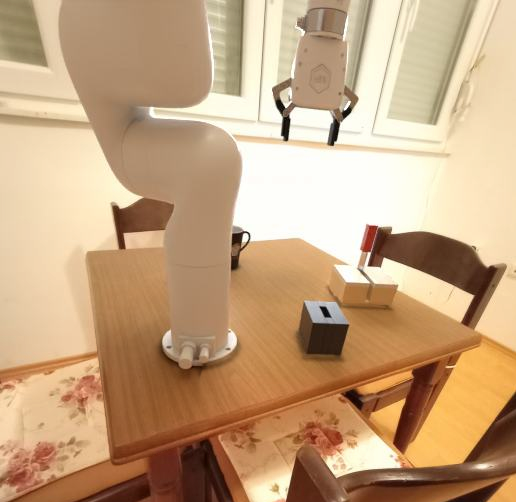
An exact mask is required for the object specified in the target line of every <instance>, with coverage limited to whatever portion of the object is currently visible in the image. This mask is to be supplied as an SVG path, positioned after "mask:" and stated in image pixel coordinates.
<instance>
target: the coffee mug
mask: <svg viewBox="0 0 516 502" xmlns="http://www.w3.org/2000/svg"><path fill="white" fill-rule="evenodd" d="M244 234H247V236H248V237H247V238H248V239H247V241H246V243H245V244H244V245H243V246H242V243H243V238H244ZM251 239H252V238H251V233H250V232H249V231H247V230H245V229H244V228H243V227H241V226H238V225H234V224H233V228H232V244H231V271H232V270H236V269H238V268H239V262H240V257H241V252H242V251H243V250H244V249H245V248H246V247H247V246H248V245H249V243H250V241H251Z"/></svg>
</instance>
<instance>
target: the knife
mask: <svg viewBox="0 0 516 502" xmlns="http://www.w3.org/2000/svg"><path fill="white" fill-rule="evenodd" d="M378 229H379V224H377V223H372V222H371V223H370V222H367V223H366V225H365V229H364V232H363V236H362V239H361V244H360V248H359V250H360V251H361V253H360V256H359V261H358V264H357V267H356V268H357V269H358V270H359V271H360V273H361V274H362V273H363V269H364V266H365V265H366V262H367V258H368V254H369V253H372V249H373V246H374V243H375V239H376V236H377V232H378ZM365 267H366V266H365Z"/></svg>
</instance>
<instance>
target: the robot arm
mask: <svg viewBox="0 0 516 502" xmlns="http://www.w3.org/2000/svg"><path fill="white" fill-rule="evenodd" d="M351 2H352V0H306V5H305V14H303V16H301V17H299V16H298V17H296V21H295V28H296V29H299V30H300V31H301V35H300V36H299V38H298V41H297V45H296V49H295V54H294V58H293V63H292V67H291V68H292V69H291V76H290V77H289V78H287V79H286V80H283V81H282V82H280V83H278V84H276V85H274V86H272V88H271V89H270V92H271V96H272V99H273V102H274V107H275V108H276V109H277V111H278V113H279V114H280V117H281V127H280V128H281V129H280V137H282V142H288V141H289V139H290V138H289V137H290V129H291V120H292V118H291V117H290V116H291V113H292V112H293V111H294V109H295V108H299V109H305V110H306V109H307V110H315V111H317V110H318V111H327V112H329V114H330V116H331V118H332V122H331V123H330V126H329V130H328V138H327V143H326V145H327V146H329V147H334V146H335V143H337V141H338V138H339V133H340V128H341V123H343V122H344V120H346V119H347V117H348V116H350V115H351V113H352V112H353V110H354V108H355V106H356V105H357V104H358V102H359V96H358V95H356V93H355V92H354V91H353V90H351V88H349V87H348V86H347V85H346V80H347V79H346V78H347V71H348V70H347V69H348V58H349V41H348V40H345V37H346V31H347V26H348V21H349V20H348V19H349V14H350V7H351ZM60 4H61V5H60V6H59V7H60V8H59V12H58V21H57V22H58V24H57V26H58V37H59V38H58V39H59V44H60V49H61V54H62V58H63V61H64V65H65V67H66V68H65V69H66V70H67V73H68V75H69V78H70V80H71V83H72V85H73V88H74V90H75V92H76V94H77V97H78V99H79V101H80V104H81V106H82V109H83V111H84V113H85V115H86V118H87V120H88V122H89V124H90V127H91V129H92V131H93V133H94V135H95V138H96V140H97V142H98V145H99V146H100V149H101V151H102V153H103V155H104V158H105V160H106V163H107V164H108V166H109V168H110V170H111V172H112V173H113V175H114V176H115V178H116V179H117V181H118V182H119V183H120V184H121V186H122V187H123V188H125V190H127V191H129V192H130V193H131V194H133V195H135V196H138V197H142V198H144V199H149V200H154V201H159V202H164V203H168V204H171V205H173V211H172V212H171V215H170V217H169V220H168V221H167V224H166V226H165V229H164V231H163V237H162V238H163V239H162V248H163V258H164V271H165V280H166V293H167V304H168V305H167V306H168V315H169V326H170V327H169V330H167V331H166V332H165V334H164V335H163V337H162V340H161V346H162V351H163V352H164V355H166V357H168V358H169V359H171V360H172V361H174V362H176V363H177V364H178V366H179V367H180V368H181V369H182V370H188V369H189V370H190V369H191V368H192V366H193V367H203V366H204V364H206V363H210V362H215V361H219V360H221V359H223V358H226V357H227V356H229V355H231V354H232V353H233V352H234V350H235V349H236V348H237V345H238V337H237V335H236V334H235V332H234V331H233V330H232V329H231V328H230V327H229V326H230V301H231V300H230V299H231V275H232V274H231V272H232V270H231V244H232V228H233V225H234V217H235V213H236V212H235V211H236V207H237V201H238V196H239V191H240V188H241V182H242V176H243V156H242V151H241V149H240V146H239V144H238V142H237V140H236V139H235V138H234V136H233V135H232V134H231V133H230V132H229V130H227V129H225V128H224V127H222V126H220V125H218V124H216V123H213V122H210V121H205V120H201V119H193V118H192V119H191V118H179V117H162V116H161V117H160V116H155V113H154V108H157V109H188V108H193V107H195V106H198V105H200V104H202V103H203V102H205V100H206V99H207V98H208V97H209V95H210V93H211V91H212V88H213V85H214V76H215V75H214V74H215V73H214V72H215V69H214V53H213V45H212V37H211V31H210V23H209V17H208V11H207V10H208V9H207V4H206V0H62V1H61V3H60ZM287 89H288V104H287V105H286V106H285V104H284V102H283V101H282V99H281V98H282V97H281V92H283V91H285V90H287ZM344 98H345V99H346V101H347V104H346V106H345V108H343V110H342V111H341V109H340V107H341V106H342V103H343V100H344Z"/></svg>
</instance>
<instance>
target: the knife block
mask: <svg viewBox="0 0 516 502" xmlns="http://www.w3.org/2000/svg"><path fill="white" fill-rule="evenodd" d="M349 327H350V322H349V321H348V320H347V318H346V317H345V315H344V313H343V311H342V309H341V307H340V306H339V304H338V303H337V301H317V300H315V301H314V300H303V303H302V309H301V314H300V320H299V326H298V332H299V335H300V338H301V341H302V345H303V347H304V350H305V353H306V355H332V356H341V355H342V352H343V349H344V344H345V342H346V339H347V335H348V331H349Z"/></svg>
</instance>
